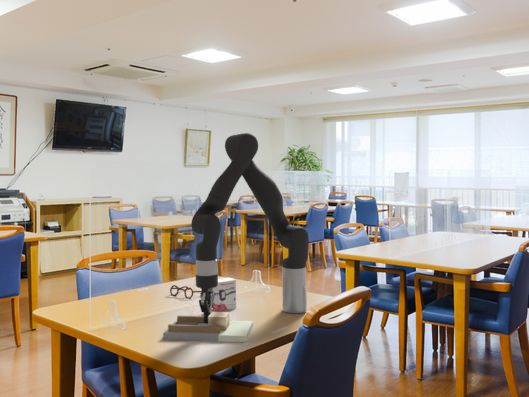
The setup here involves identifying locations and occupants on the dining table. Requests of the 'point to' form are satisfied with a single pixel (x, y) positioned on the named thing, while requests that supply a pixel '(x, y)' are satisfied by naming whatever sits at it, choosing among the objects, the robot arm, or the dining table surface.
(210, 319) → the beech block
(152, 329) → the dining table surface
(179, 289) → the glasses
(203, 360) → the dining table surface
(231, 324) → the channel deck
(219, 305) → the ink box
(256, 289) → the dining table surface
